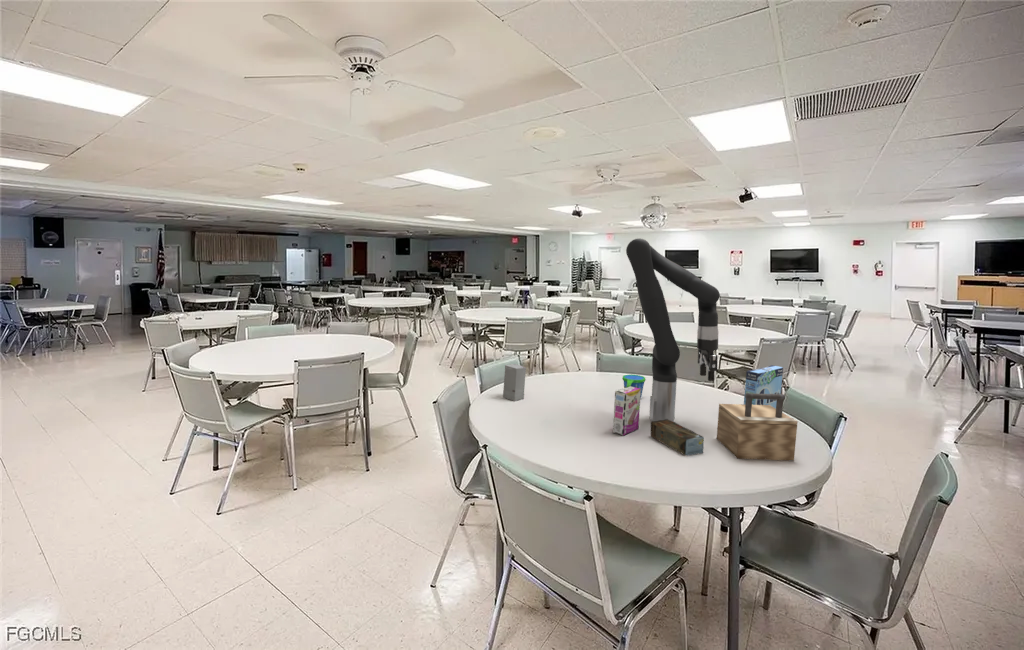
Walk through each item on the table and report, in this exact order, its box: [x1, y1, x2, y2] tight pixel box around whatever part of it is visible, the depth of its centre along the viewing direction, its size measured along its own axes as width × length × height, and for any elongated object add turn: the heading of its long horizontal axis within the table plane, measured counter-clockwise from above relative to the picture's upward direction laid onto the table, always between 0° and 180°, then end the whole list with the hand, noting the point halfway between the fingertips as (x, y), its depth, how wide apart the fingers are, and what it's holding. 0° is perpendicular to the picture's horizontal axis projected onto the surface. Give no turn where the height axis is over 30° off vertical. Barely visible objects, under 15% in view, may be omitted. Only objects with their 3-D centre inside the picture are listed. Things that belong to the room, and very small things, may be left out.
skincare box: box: [502, 363, 527, 402], centre depth 218 cm, size 8×7×16 cm
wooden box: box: [716, 406, 798, 461], centre depth 160 cm, size 18×18×12 cm
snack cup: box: [622, 374, 646, 399], centre depth 222 cm, size 16×10×10 cm
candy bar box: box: [612, 386, 642, 437], centre depth 175 cm, size 11×5×16 cm, turn 134°
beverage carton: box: [650, 419, 705, 456], centre depth 163 cm, size 8×19×7 cm, turn 21°
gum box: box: [743, 364, 784, 409], centre depth 185 cm, size 20×5×23 cm, turn 123°
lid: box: [718, 393, 799, 426], centre depth 158 cm, size 18×18×9 cm
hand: (706, 378), depth 181 cm, fingers open, 8 cm apart
